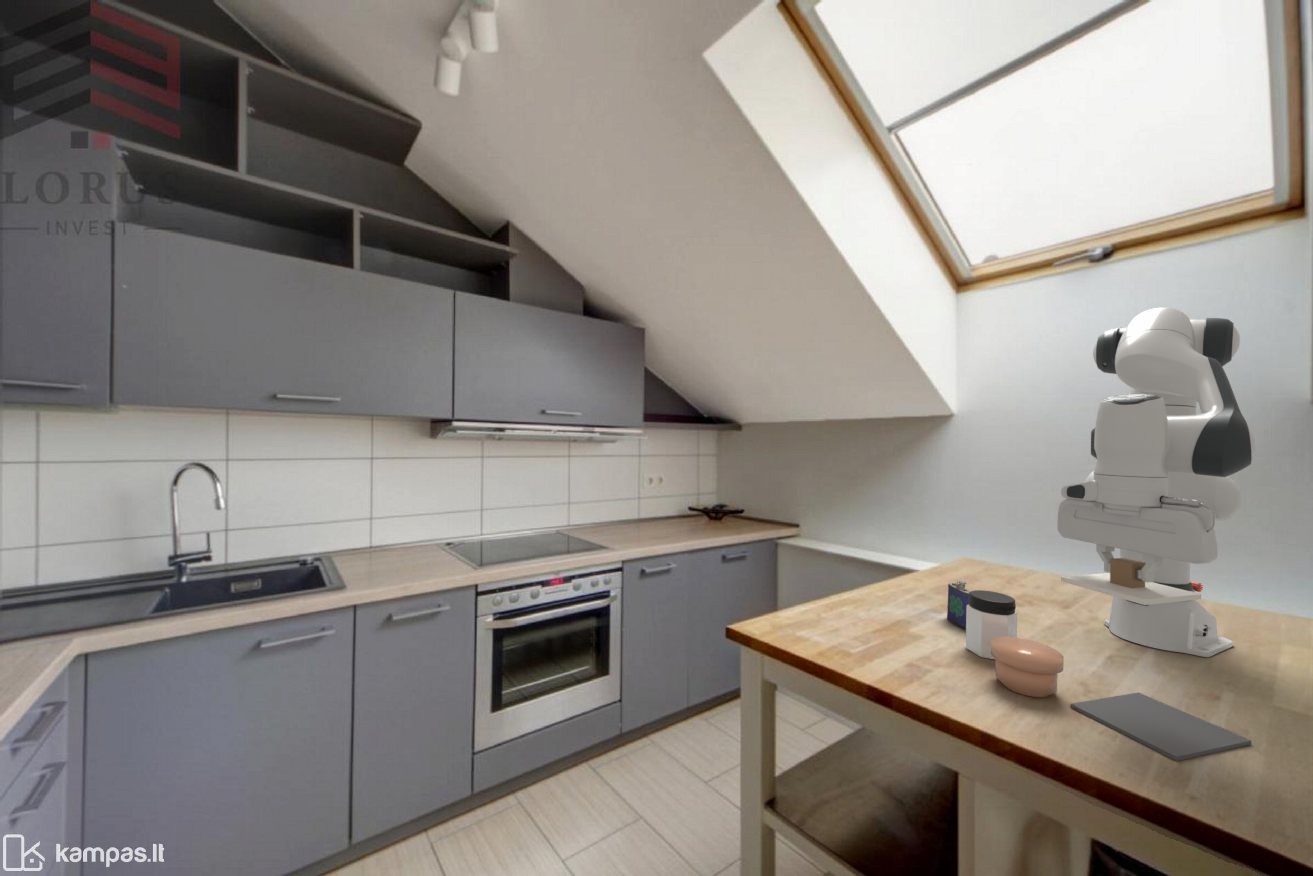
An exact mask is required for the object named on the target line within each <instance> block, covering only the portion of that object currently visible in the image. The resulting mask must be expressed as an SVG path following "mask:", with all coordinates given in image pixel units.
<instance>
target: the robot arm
mask: <svg viewBox="0 0 1313 876" xmlns="http://www.w3.org/2000/svg"><path fill="white" fill-rule="evenodd" d="M1240 344H1241V337H1240V333H1239V331H1238V329H1237V328H1236V327H1235V325H1234V322H1233V321H1232V320H1230V319H1228V318H1221V317H1206V318H1205V319H1190V318H1189V316H1187V315H1186V314H1185V313H1184V312H1183V311H1181V310H1179V309H1177V308H1171V307H1157V308H1156V307H1155V308H1152V309H1147V310H1145V311H1142V312H1141V313H1138V314H1137V315H1136V316H1135V317H1133V319H1131V320H1130V322H1129V323H1128V325H1127V326H1126V327H1122V326H1120V327H1116V328H1112V329H1108V330H1105V331H1104V332H1103V333H1101V334H1100V335H1099V336H1098V337H1097V340H1096V342H1095V344H1094V346H1093V350H1092V355H1093V357H1092V358H1093V361H1094V362H1095V365H1096V367H1097V368H1098V369H1099V370H1100V371H1101V372H1102V373H1106V374H1112V375H1116V376H1117V377H1118V379H1119V380H1121V382H1123V383H1124V384H1125V385H1127V386H1128V387H1130V388H1129V392H1128V394H1127V393H1126V394H1120V395H1112V396H1107V397H1106V398H1104V399H1102V400H1100V402H1099V406H1098V410H1097V413H1096V415H1097V416H1096V421H1095V427H1094V428H1093V429H1092V430H1091V432H1090V455H1091V456H1092V457H1093V458H1095V460H1096V464H1095V466H1094V470H1093V471H1091V472H1090V473H1089V474H1088V475H1087V477H1086V478H1085V480H1084V481H1082V482H1078V483H1073V484H1067V485H1063V486H1061V489H1060V494H1061V496H1062V498H1064V499H1063V500H1061V501H1060V504H1059V505H1058V511H1057V531H1058V533H1059V534H1060V536H1061V537H1062V538H1064V539H1070V540H1074V541H1079V542H1083V543H1084V542H1085V543H1089V544H1095V545H1096V548H1095V549H1096V553H1097V554H1098V556H1099V557H1100V559H1101V561H1102V562H1103V572H1104V573H1110V559H1115V557H1114V555H1113V553H1112V552H1115V549H1119V554H1120V555H1119V556H1120V557H1119V558H1127V559H1132V560H1136V561H1141V562H1146V564H1145V566H1144V567H1143V568H1142V569H1135V574H1136V575H1135V579H1136V580H1139V581H1143V582H1154V583H1158V584H1162V585H1166V586H1170V587H1174V588H1178V589H1182V590H1187V591H1191V592H1195V593H1201V592H1203V588H1204V587H1203V584H1202V583H1201V582H1195V581H1192V580H1190V575H1191V574H1190V573H1191V564H1195V565H1198V564H1199V565H1200V564H1201V565H1202V564H1209V563H1212V562H1213V561H1214V560H1216V559H1217V558H1218V543H1217V536H1216V531H1215V525H1216V522H1219V521H1227V520H1228V519H1231V518H1232V517H1234V516H1235V515H1236V514H1237V512H1238V511H1239V510H1240V508H1241V507H1242V504H1243V494H1242V491H1241V488H1240V487H1239V485H1238V484H1237V482H1235V481H1234V479H1233V478H1231V477H1230V476H1232V475H1234V474H1236V473H1238V472H1240V471H1242V470H1245V468H1247V467H1249V466H1251V465H1252V461H1253V459H1254V457H1255V456H1256V455H1255V454H1256V446H1257V445H1256V440H1255V439H1256V438H1255V435H1254V433H1253V431H1252V429H1251V427H1250V426H1249V425H1248V423H1247V421H1246V419H1245V417H1244V415H1243V414H1242V411H1241V410H1240V407H1239V404H1238V402H1237V399H1236V396H1235V394H1234V391H1233V388H1232V385H1231V383H1230V380H1229V379H1228V376H1227V374H1226V372H1225V369H1224V366H1226V365H1227V364H1228V363H1230V362H1231V361H1232V358H1233V357H1234V356H1235V354H1236V353H1237V352H1238V350H1239V348H1240ZM1197 403H1198V405H1199V409H1200V412H1201V413H1198V414H1197ZM1103 624H1104V625H1105V626H1107V627H1108V628H1109V631H1110V632H1111V633H1112V634H1113V635H1115V636H1117V637H1119V638H1121V639H1123V640H1127V641H1129V642H1132V643H1134V644H1139V645H1142V646H1146V647H1150V648H1154V649H1158V650H1163V651H1169V652H1176V653H1181V654H1182V653H1184V654H1188V655H1194V656H1198V657H1204V658H1210V657H1212V656H1214V655H1217V654H1219V653H1220V652H1223V651H1225V650H1228V649H1230V648H1232V647H1234V642H1233V640H1231V639H1228V638H1226V637H1224V636H1223V635H1222V636H1221V635H1219V634H1218V623H1217V617H1216V616H1215V615H1214V614H1212V612H1210V611H1209V610H1207V609H1206V607H1204V606H1203V605H1202V604H1201V603H1199V602H1198V600H1189V601H1179V602H1170V603H1160V604H1150V605H1143V604H1139V603H1136V602H1132V601H1129V600H1125V599H1122V598H1118V597H1114V596H1112V597H1111V605H1110V613H1109V619H1104V622H1103Z"/></svg>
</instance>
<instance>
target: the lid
mask: <svg viewBox="0 0 1313 876" xmlns="http://www.w3.org/2000/svg"><path fill="white" fill-rule="evenodd" d="M1145 564H1146V562H1141V561H1136V560H1132V559H1127V558H1121V557H1118V558H1117V557H1116V558H1115V557H1114V559H1110V573H1107V572H1103V573H1102V572H1101V573H1091V574H1090V573H1088V574H1078V575H1077V574H1076V575H1066V576H1065V575H1064V576H1060V582H1063V583H1066V584H1070V585H1072V586H1077V587H1078V588H1083V589H1087V590H1090V591H1094V592H1097V593H1100V594H1105V595H1108V596H1110V597H1111V596H1112V597H1113V596H1114V597H1118V598H1122V599H1125V600H1129V601H1132V602H1136V603H1139V604H1143V605H1150V604H1160V603H1170V602H1179V601H1189V600H1196V601H1198V600H1202V593H1200V592H1196V591H1195V592H1191V591H1187V590H1182V589H1178V588H1174V587H1170V586H1166V585H1162V584H1158V583H1154V582H1143V581H1139V580H1136V579H1135V575H1136V574H1135V569H1142V568H1143V567H1144V566H1145Z"/></svg>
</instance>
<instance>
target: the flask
mask: <svg viewBox="0 0 1313 876" xmlns="http://www.w3.org/2000/svg"><path fill="white" fill-rule="evenodd" d="M966 585H967V582H966V581H962V580H956V582H948V584H947V587H948V589H947V607H946V608H947V609H946V610H947V611H946V612H947V614H946V615H947V616H946V619H947V621H948V622H949V623H952V624H953V625H955V626H957V627H959V628H961V629H963V630H964V631H966V606H967V605H968V604H969V592H971V591H972V590H970V589H967V588H966Z"/></svg>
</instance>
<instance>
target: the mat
mask: <svg viewBox="0 0 1313 876" xmlns="http://www.w3.org/2000/svg"><path fill="white" fill-rule="evenodd" d="M1069 708H1071V709H1074V710H1075V711H1076V712H1079V713H1080V714H1082V715H1084V716H1086V717H1089V718H1091V719H1093V720H1095V721H1097V722H1098V723H1101V724H1103V725H1105V726H1106V727H1109V728H1110V729H1112V730H1114V731H1117V732H1118V733H1120V734H1123V735H1125V736H1127V737H1129V738H1130V739H1131V740H1135V741H1137V742H1138V743H1140V744H1142V745H1144V746H1147V747H1148V748H1151V749H1152V750H1154V751H1156V752H1158V753H1159V754H1162V755H1164V756H1166V757H1168V758H1169V759H1172V760H1174V761H1177V762H1178V761H1182V760H1187V759H1191V758H1196V757H1201V756H1205V755H1209V754H1215V753H1218V752H1224V751H1228V750H1233V749H1237V748H1240V747H1245V746H1250V745H1252V740H1251V739H1249V738H1248V737H1245V736H1242V735H1239V734H1237V733H1235V732H1232V731H1230V730H1228V729H1225V728H1224V727H1222V726H1218V725H1216V724H1214V723H1211V722H1209V721H1207V720H1205V719H1201V718H1200V717H1197V716H1195V715H1192V714H1190V713H1188V712H1185V711H1183V710H1181V709H1178V708H1176V707H1174V706H1172V705H1169V704H1167V703H1164V702H1162V701H1159V700H1157V699H1155V698H1153V697H1151V696H1148V695H1145V694H1143V693H1141V692H1133V693H1127V694H1120V695H1114V696H1110V697H1104V698H1098V699H1092V700H1085V701H1079V702H1073V703H1070V707H1069Z"/></svg>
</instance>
